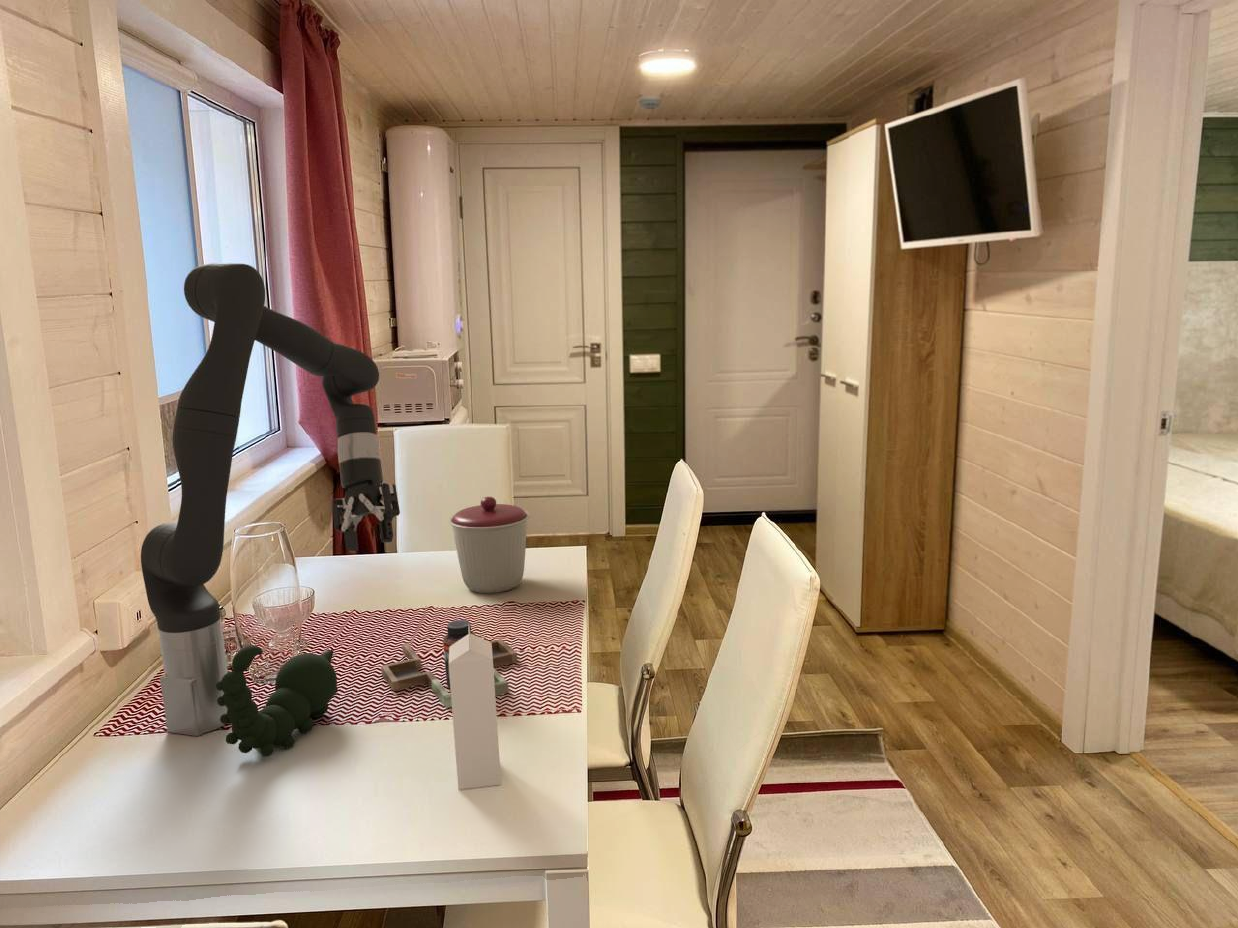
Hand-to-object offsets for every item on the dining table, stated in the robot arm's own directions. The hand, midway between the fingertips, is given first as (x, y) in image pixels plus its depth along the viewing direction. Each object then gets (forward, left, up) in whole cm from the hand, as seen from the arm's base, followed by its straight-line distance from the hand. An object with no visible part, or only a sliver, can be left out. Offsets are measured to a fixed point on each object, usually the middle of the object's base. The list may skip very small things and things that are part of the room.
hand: (369, 546), depth 170 cm
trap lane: (-1, -16, -22) cm, 27 cm away
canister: (+44, -3, -22) cm, 49 cm away
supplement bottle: (-5, -20, -22) cm, 31 cm away
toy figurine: (-28, -2, -22) cm, 36 cm away
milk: (-32, -37, -22) cm, 54 cm away
